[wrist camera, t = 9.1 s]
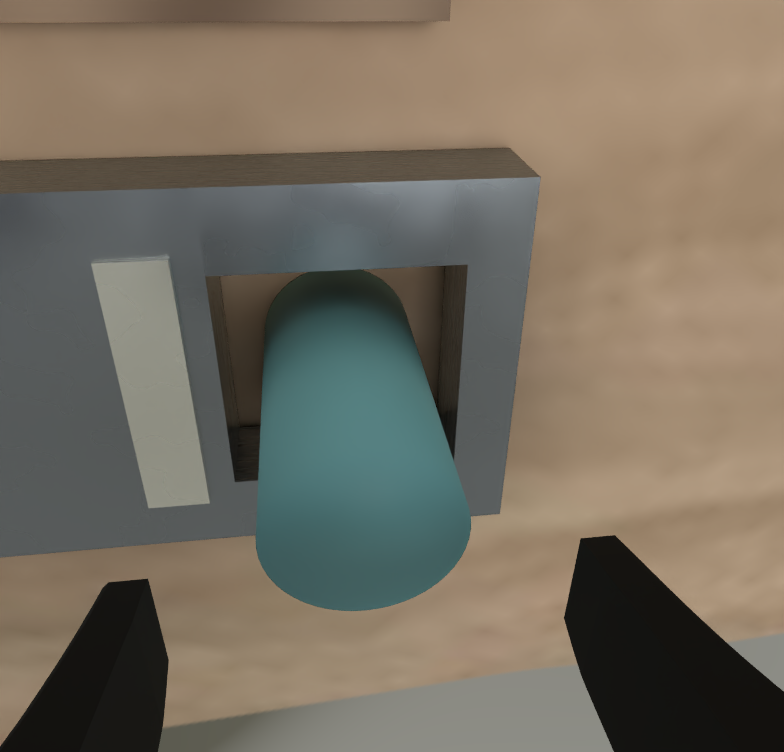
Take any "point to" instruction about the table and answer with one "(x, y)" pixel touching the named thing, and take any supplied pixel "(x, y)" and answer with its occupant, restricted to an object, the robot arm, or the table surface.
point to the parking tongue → (221, 10)
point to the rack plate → (208, 326)
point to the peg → (352, 450)
